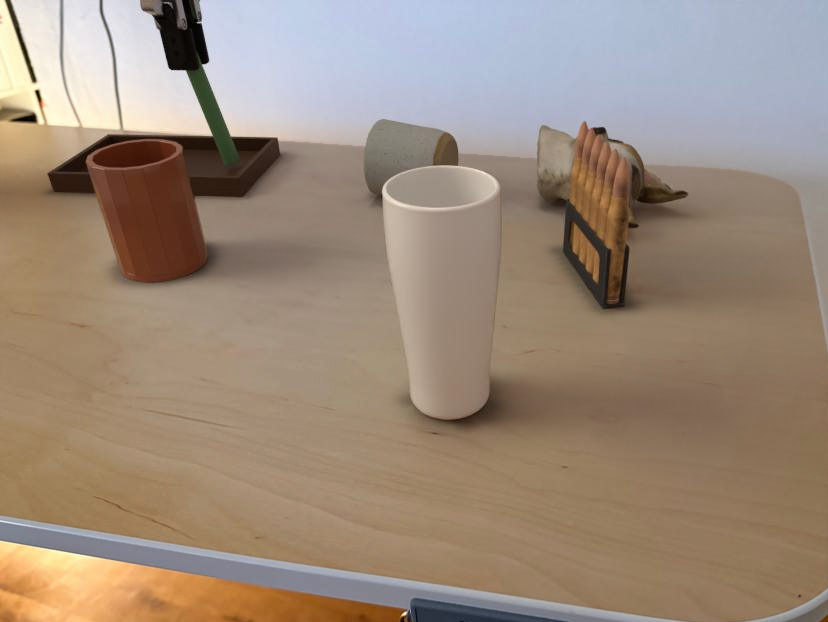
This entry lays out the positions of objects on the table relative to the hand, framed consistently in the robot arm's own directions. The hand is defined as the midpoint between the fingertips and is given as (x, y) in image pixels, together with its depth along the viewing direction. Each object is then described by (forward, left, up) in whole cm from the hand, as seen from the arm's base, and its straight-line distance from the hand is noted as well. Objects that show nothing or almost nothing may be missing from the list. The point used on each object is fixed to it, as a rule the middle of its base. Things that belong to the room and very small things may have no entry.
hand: (189, 65), depth 79 cm
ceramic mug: (+24, -4, -12) cm, 27 cm away
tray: (-5, 0, -12) cm, 13 cm away
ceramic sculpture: (+43, -8, -12) cm, 46 cm away
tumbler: (+4, -22, -12) cm, 25 cm away
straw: (+1, 0, -11) cm, 11 cm away
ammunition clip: (+42, -22, -12) cm, 49 cm away
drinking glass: (+32, -40, -12) cm, 53 cm away
